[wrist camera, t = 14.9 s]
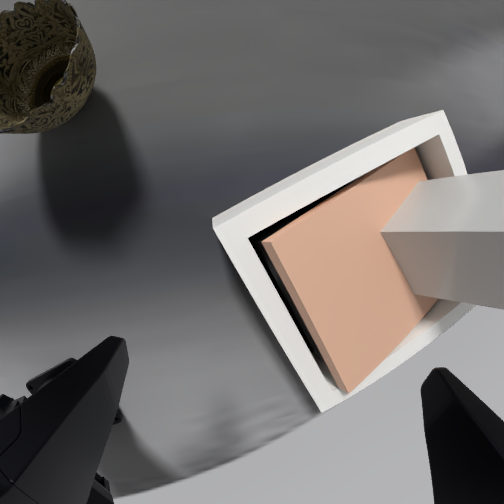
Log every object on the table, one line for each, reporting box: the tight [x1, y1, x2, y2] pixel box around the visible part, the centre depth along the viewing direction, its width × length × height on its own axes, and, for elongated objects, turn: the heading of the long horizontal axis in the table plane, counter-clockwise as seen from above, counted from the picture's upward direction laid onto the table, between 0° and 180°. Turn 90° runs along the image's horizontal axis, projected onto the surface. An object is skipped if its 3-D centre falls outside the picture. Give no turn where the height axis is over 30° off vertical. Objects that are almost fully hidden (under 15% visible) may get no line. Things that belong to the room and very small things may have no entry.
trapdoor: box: [255, 147, 439, 394], centre depth 19 cm, size 12×10×4 cm
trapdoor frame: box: [212, 110, 475, 413], centre depth 19 cm, size 15×13×5 cm
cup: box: [0, 0, 96, 134], centre depth 13 cm, size 8×7×8 cm
